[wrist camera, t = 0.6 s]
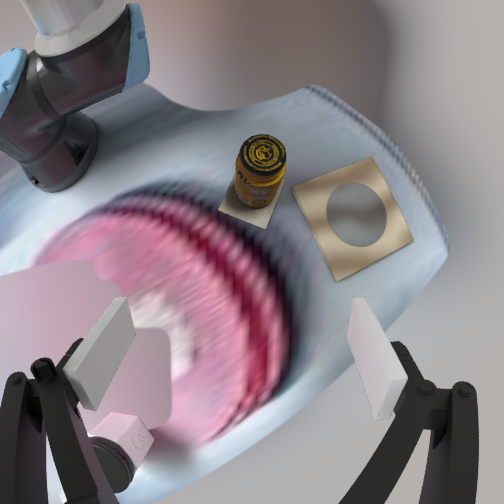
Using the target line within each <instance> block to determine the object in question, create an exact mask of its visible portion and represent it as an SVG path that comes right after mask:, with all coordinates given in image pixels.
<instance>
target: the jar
mask: <svg viewBox="0 0 504 504" xmlns="http://www.w3.org/2000/svg"><path fill="white" fill-rule="evenodd" d="M87 434H88V437H89V439H90V442H91V444H92V447H93V449H94V452H95V454H96V456H97V459H98V461H99V463H100V465H101V468H102V470H103V472H104V474H105V476H106V478H107V480H108V482H109V484H110V486H111V488H112V490H113V492H114V493H120V492H123V491H124V490H126V489H127V487H128V486H129V484H130V482H132V480H133V477H134V474H135V472H136V471H137V469H138V468H139V466H140V464H141V462H142V461H143V459H144V457H145V455H146V454H147V452H148V450H149V449H150V447H151V445H152V443H153V442H154V438H153V437H152V435H151V434H150V432H149V431H148V429H147V428H146V426H145V425H144V424H143V422H142V421H141V419H140V418H139V416H135V415H129V414H123V413H117V412H111V413H110V414H108V415H107V416H106V417H105V418H104V419H103V420H102V421H101V422H100V423H98V424H97V425H96V426H95V427H94V428H93V429H92V430H91V431H89V432H88V433H87Z"/></svg>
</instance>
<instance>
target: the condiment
mask: <svg viewBox="0 0 504 504" xmlns="http://www.w3.org/2000/svg"><path fill="white" fill-rule="evenodd" d="M285 162H286V152H285V147H284V146H283V144H282V143H281V142H280V141H279V140H278V139H276V138H274V137H272V136H270V135H267V134H265V135H264V134H259V135H255V136H251V137H250V138H248V139H247V140H246V141H245V142H244V143H243V145H242V146H241V149H240V153H239V154H238V157H237V159H236V171H235V175H234V177H233V179H232V181H231V183H230V185H229V187H228V189H227V192H226V194H225V196H224V198H223V201H222V203H221V205H220V207H219V209H218V210H219V211H221V212H224V213H226V214H229V215H231V216H234V217H236V218H238V219H241V220H244V221H246V222H249V223H251V224H254V225H256V226H259V227H261V228H264V229H266V227H267V225H268V222H269V220H270V217H271V215H272V212H273V210H274V207H275V205H276V202H277V200H278V197H279V195H280V192H281V190H282V187H283V185H284V182H285V180H286V178H283V177H284V173H285V170H286V164H285ZM234 195H235V196H234ZM258 209H260V210H259V211H258ZM255 211H257V212H255Z"/></svg>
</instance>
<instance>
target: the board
mask: <svg viewBox="0 0 504 504" xmlns="http://www.w3.org/2000/svg"><path fill="white" fill-rule="evenodd" d="M291 191H292V193H293V195H294V197H295V199H296V201H297V203H298V205H299V207H300V209H301V211H302V213H303V215H304V217H305V219H306V221H307V223H308V225H309V227H310V229H311V231H312V234H313V236H314V238H315V240H316V242H317V244H318V246H319V248H320V251H321V253H322V255H323V257H324V259H325V261H326V264H327V266H328V268H329V270H330V272H331V275H332V277H333V279H334V281H335V282H337V281H339V280H341V279H343V278H345V277H347V276H349V275H351V274H353V273H355V272H357V271H359V270H361V269H362V268H364V267H366V266H368V265H370V264H372V263H374V262H376V261H377V260H379V259H381V258H383V257H385V256H387V255H388V254H390V253H392V252H394V251H396V250H397V249H399V248H401V247H403V246H405V245H406V244H408V243H410V242H412V241H413V240H414V239H413V237H412V235H411V233H410V230H409V228H408V226H407V224H406V222H405V219H404V217H403V215H402V213H401V211H400V209H399V207H398V205H397V203H396V201H395V199H394V197H393V195H392V193H391V191H390V189H389V187H388V185H387V183H386V181H385V179H384V178H383V176H382V174H381V172H380V170H379V168H378V167H377V165H376V163H375V161H374V160H373V158H372V157H370V158H367V159H364V160H362V161H359V162H356V163H353V164H350V165H348V166H345V167H342V168H340V169H337V170H334V171H332V172H329V173H326V174H324V175H321V176H318V177H316V178H313V179H310V180H308V181H305V182H303V183H300V184H297V185H295V186H292V188H291Z"/></svg>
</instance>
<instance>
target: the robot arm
mask: <svg viewBox="0 0 504 504" xmlns="http://www.w3.org/2000/svg"><path fill="white" fill-rule="evenodd" d="M20 1H21V3H22V5H23V6H24V8H25V10H26V11H27V13H28V15H29V16H30V18H31V20H32V21H33V23H34V24H35V26H36V28H37V29H38V31H39V32H38V34H37V37H36V40H35V43H34V49H35V50H34V51H32V52H30V53H29V54H27V52H26V50H24V49H22V48H20V47H17V48H13V49H10V50H9V51H7V52H5V53H4V54H3V55H2V56H0V150H2V151H3V152H5V153H6V154H7V155H9V156H10V157H12V158H13V159H15V160H16V161H18V162H19V163H20V165H21V167H22V169H23V171H24V172H25V174H26V176H27V178H28V179H29V181H30V182H31V183H32V184H33V185H34V186H36V187H38V188H39V189H41V190H43V191H45V192H57V191H61V190H63V189H65V188H67V187H69V186H70V185H72V184H73V183H75V182H76V181H77V180H78V179H79V178H80V177H81V176H82V175H83V174H84V173H85V171H86V170H87V169H88V167H89V165H90V164H91V162H92V160H93V158H94V156H95V153H96V149H97V145H98V133H97V130H96V127H95V125H94V124H93V123H92V121H91V120H90V119H89V117H87V116H86V115H85V114H83V113H81V112H79V111H80V110H82V109H84V108H86V107H88V106H90V105H93V104H95V103H97V102H99V101H102V100H104V99H106V98H109V97H111V96H113V95H116V94H118V93H122V92H124V91H126V89H128V88H131V87H133V86H135V85H137V84H140V83H142V82H143V81H144V80H145V79H146V78H147V77H148V75H149V72H150V61H149V52H148V45H147V39H146V36H145V26H144V20H143V16H142V11H141V7H140V5H139V4H138V3H133V4H132V3H131V4H130V3H129V4H126V1H125V0H20ZM135 336H136V332H135V328H134V325H133V321H132V317H131V313H130V309H129V305H128V301H127V298H125V297H116V298H115V299H114V300H113V301H112V303H111V304H110V305H109V306H108V308H107V309H106V310H105V312H104V313H103V314H102V316H101V317H100V318H99V319H98V321H97V322H96V323H95V325H94V326H93V327H92V329H91V330H90V331H89V333H88V334H87V336H86V337H85V338H84V339H83V338H80V339H78V340H77V341H75V342H74V343H73V344H72V346H71V347H70V348H69V350H68V351H67V352H66V355H64V356H63V358H62V359H61V361H60V362H59V363H58V365H57V366H56V367H55V366H54V363H53V362H52V360H51V359H50V358H40V359H38V360H36V361H35V362H34V363H33V364H32V365H31V369H30V370H31V372H32V374H33V376H34V377H35V379H28V378H27V377H26V375H25V374H24V373H23V372H15V373H13V374H11V375H10V376H9V377H8V379H7V382H6V385H5V389H4V394H3V398H2V403H1V407H0V504H48V492H47V475H46V432H47V437H48V441H49V445H50V448H51V452H52V456H53V459H54V462H55V466H56V469H57V472H58V475H59V478H60V481H61V484H62V487H63V490H64V493H65V495H66V498H67V502H65V503H64V504H119V502H118V500H117V498H116V496H115V494H114V492H113V490H112V488H111V486H110V484H109V482H108V480H107V478H106V476H105V474H104V472H103V470H102V468H101V465H100V463H99V461H98V459H97V456H96V454H95V452H94V449H93V447H92V444H91V442H90V439H89V437H88V434H87V432H86V429H85V426H84V423H83V420H82V418H81V415H80V412H79V409H78V408H77V404H78V402H79V401H80V403H81V404H82V406H83V408H85V409H89V410H93V411H96V410H97V408H98V406H99V404H100V402H101V400H102V398H103V396H104V394H105V392H106V390H107V389H108V387H109V385H110V383H111V381H112V379H113V377H114V375H115V373H116V371H117V369H118V367H119V365H120V364H121V362H122V360H123V358H124V356H125V354H126V352H127V351H128V349H129V347H130V345H131V343H132V341H133V340H134V338H135ZM346 338H347V341H348V343H349V346H350V349H351V352H352V354H353V357H354V360H355V363H356V366H357V368H358V371H359V374H360V377H361V380H362V383H363V386H364V389H365V392H366V395H367V397H368V400H369V404H370V407H371V410H372V413H373V416H374V419H375V420H382V419H387V418H390V417H391V415H392V412H393V411H394V412H395V415H396V416H395V418H394V420H393V422H392V424H391V426H390V427H389V429H388V431H387V433H386V434H385V436H384V438H383V439H382V441H381V443H380V444H379V446H378V448H377V449H376V451H375V453H374V454H373V456H372V457H371V459H370V460H369V462H368V463H367V465H366V467H365V468H364V469H363V471H362V472H361V474H360V475H359V477H358V478H357V479H356V481H355V482H354V484H353V485H352V486H351V488H350V489H349V491H348V492H347V493H346V495H345V496H344V497H343V499H342V500H341V501H340V502H339V504H384V503H385V501H386V500H387V498H388V497H389V495H390V493H391V491H392V490H393V488H394V486H395V485H396V483H397V481H398V479H399V478H400V476H401V474H402V472H403V470H404V468H405V466H406V464H407V463H408V460H409V459H410V457H411V454H412V453H413V450H414V448H415V446H416V444H417V442H418V440H419V438H420V435H421V433H422V431H423V429H429V430H431V436H430V444H429V452H428V458H427V465H426V470H425V476H424V481H423V486H422V491H421V495H420V500H419V504H475V501H476V491H477V480H478V462H479V426H478V406H477V393H476V390H475V388H474V387H473V385H471V384H470V383H468V382H464V381H462V382H457V383H455V385H454V386H453V388H452V389H440V388H436V386H435V385H434V383H432V382H431V381H429V380H425V379H424V378H423V376H422V374H421V373H420V371H419V369H418V367H417V365H416V363H415V362H414V361H413V358H412V356H411V355H410V353H409V351H408V349H407V348H406V346H404V345H403V344H402V343H401V342H399V341H397V342H396V341H395V342H389V340H388V338H387V336H386V334H385V332H384V330H383V329H382V327H381V325H380V323H379V321H378V320H377V318H376V316H375V314H374V312H373V311H372V309H371V307H370V305H369V303H368V302H367V300H366V298H365V297H358V298H352V304H351V310H350V316H349V322H348V328H347V333H346Z"/></svg>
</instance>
